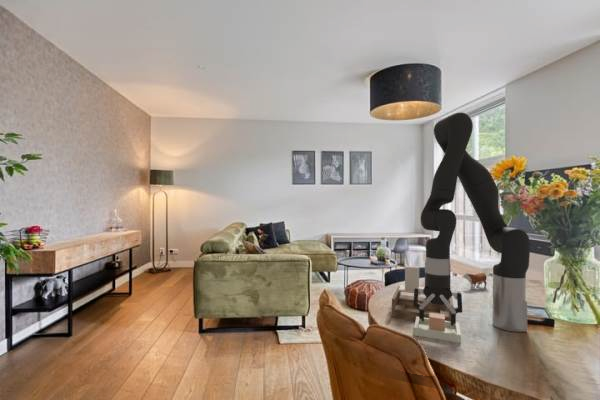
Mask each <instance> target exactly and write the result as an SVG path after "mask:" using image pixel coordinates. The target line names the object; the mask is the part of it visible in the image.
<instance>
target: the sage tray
mask: <svg viewBox="0 0 600 400" xmlns="http://www.w3.org/2000/svg"><path fill="white" fill-rule="evenodd" d="M413 327H414V328H413V330H414V331H413V336H416V337H421V338H429V339H434V340H439V341H440V340H441V341H447V342H450V343H451V342H453V343H458V344H462V335H461V334H462V333H461V327H460V323H459V322H457V321H456V323H455V324H453V326H452V325H451V321H445V332H444V331H438V330H432V329H429V318H424V321H422V319H420V318H419V317H417V316H416V321H415V322H414V326H413Z"/></svg>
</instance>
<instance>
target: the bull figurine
mask: <svg viewBox="0 0 600 400" xmlns="http://www.w3.org/2000/svg"><path fill="white" fill-rule="evenodd" d="M462 278H463V279H466V280H467V281H468V282H469V284H470V289H472V290H473V291H475V290H476V288H479V287H480V285H482V284H483V285H484V286H483V289H487V278H488V277H487V274H486V273H484V272H481V273H473V272H468V271H467V272H465V273H463V276H462ZM476 284H477V285H476Z"/></svg>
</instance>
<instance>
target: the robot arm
mask: <svg viewBox="0 0 600 400" xmlns="http://www.w3.org/2000/svg"><path fill="white" fill-rule="evenodd" d="M473 126H474V125H473V121H472V119H471V117H470V116H469V115H468V114H467V113H465V112H462V111H460V112H458V111H457V112H455V113H452V114H450V115H449V116H446V117H445V118H443V119H441V120H439V121H438V122H436V123H435V125H434V126H433V135H434V138H435V140H436V142H437V144H438V146H439V147H440V149H441V150H442V152H443V153H444V155H443V157H442V159H441V162H440V163H439V165H438V167H437V169H436V171H435V173H434V176H433V179H432V185H431V189H430V195H429V197H428V199H427V201H426V203H425V205H424V207H423V209H422V211H421V214H420V225H421V226H422V228H423V229H424V230H426V231H432V232H433V231H434V232H438V235H437V237H433V238H428V239H427V240H426V242H425V260H424V261H425V262H424V286H423V287H424V289H421V288H418V287H415V289H414V293H413V296H414V302H413V306H414V307H417V308H419V318H420V319H422V321H424V307H425V306H426V305H427V304H428V303H429V302H431V303H432V304H440V305H443V304H445V305H446V306H447V307H448V308H449V310H450V311H451V325H452V326H453V324H455V323H456V322H457V314H458V313H459V314H462V313H463V298H462V292H461V291H460V290H459V291H455V292H454V291H452V289H451V274H452V273H451V272H452V271H451V259H450V258H451V243H452V240H453V236H454V233H455V230H456V225H457V217H456V214H455V212H454V211H452V209H448V208H446V209H445V208H441V207H442V206H444V205H448V204H450V203H453V202H454V199H455V193H456V190H457V189H456V188H457V182H458V179H459V181H460V183H461V186H462V189H463V190H464V193H465V194H466V196H467V198H468V200H469V201H470V203H471V205H472V207H473V209H474V211H475V213H476V215H477V217H478V219H479V221H480V223H481V226H482V229H483V232H484V235H485V237H486V240H487V242H488V245H489V246H490V247H491V249H492V250H493V251H495V252H497V253H499V254H501V255H500V257H501V258H500V262H499V263H495V264H494V265H493V268H492V325H493V326H494V327H496V328H498V329H500V330H504V331H509V332H514V333H516V332H517V333H522V332H523V333H527V332H528V301H526V278H527V277H526V276H527V275H526V274H527V272H528V270H529V266H530V255H531V241H530V237H529V235H528V233H527V232H526V231H525V230H523V229H521V228H516V227H508V225H507V224H506V221H505V220H504V218H503V216H502V214H501V212H500V207H499V206H500V205H499V202H500V201H499V199H500V196H499V195H500V194H499V190H498V189H499V188H498V187H497V183H496V182H495V180H494V177H493V175H492V174H491V172H490V171H489V170H488V168H486V167H485V166H484V165H483V164H482V163H480V162H479V161H478V160H476V159H475V158H473V156H472V155H471V154H469V153H468V151H467V150H466V149H467V148H468V144H469V142H470V139H471V135H472V133H473V128H474V127H473ZM422 292H423V293H424V298H425V299H424V300H423V301H422V303H421V304H420V303H418V297H419V296H420V295H422V294H421V293H422ZM451 296H452V297H454V299H455V300H456V302H457V304H456V305H457V307H454V304H453V305H452V304H451V302H450V301H449V299H450V298H451Z"/></svg>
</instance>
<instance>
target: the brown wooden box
mask: <svg viewBox="0 0 600 400" xmlns="http://www.w3.org/2000/svg"><path fill="white" fill-rule="evenodd" d="M400 286H401V285H398V286H397V288H396V290H395V292H394V294H393V295H392V298H391V318H395V319H400V320H407V321H416V316H417V317H419V308H417V307H414V306H413V302H414V295H408V294H407V295H404V294H401V293H402V292H399V288H400ZM425 298H426V297H423V296H422V297H421V296H418V303H420V304H421V303H422V301H423V300H424V299H425ZM449 301H450V302H451V304H452V305H453V306H454V302H453V296H451V298H450V299H449ZM430 313H437V314H444V315H445V321H451V311H450V310H449V308H448V307H447V306H446V305H445V304H443V305H440V304H432V303H431V302H429V303H428V304H427V305H426V306H425V307H424V318H429V314H430Z"/></svg>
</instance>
